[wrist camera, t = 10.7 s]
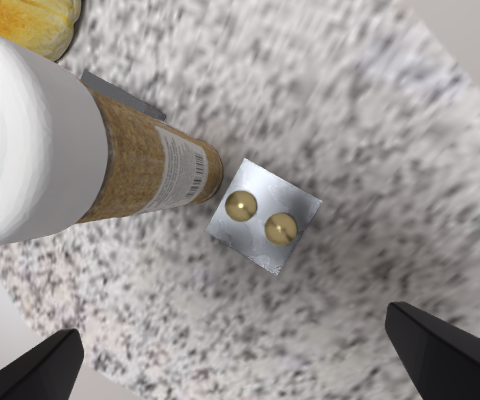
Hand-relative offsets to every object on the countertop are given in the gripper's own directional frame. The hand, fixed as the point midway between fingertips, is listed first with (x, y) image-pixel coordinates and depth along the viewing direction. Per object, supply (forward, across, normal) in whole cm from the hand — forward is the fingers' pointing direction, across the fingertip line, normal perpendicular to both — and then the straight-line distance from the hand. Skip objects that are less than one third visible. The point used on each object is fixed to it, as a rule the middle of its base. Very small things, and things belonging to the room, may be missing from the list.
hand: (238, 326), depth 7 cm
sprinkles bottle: (+12, +2, -2) cm, 13 cm away
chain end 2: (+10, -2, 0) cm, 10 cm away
